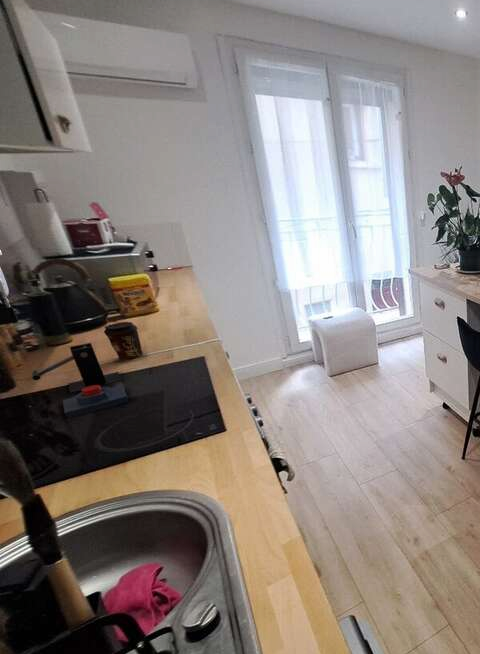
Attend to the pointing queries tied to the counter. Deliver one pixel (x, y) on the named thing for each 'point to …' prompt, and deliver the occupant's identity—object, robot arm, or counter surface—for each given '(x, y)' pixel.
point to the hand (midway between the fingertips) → (9, 322)
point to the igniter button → (91, 390)
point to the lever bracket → (89, 369)
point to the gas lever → (51, 367)
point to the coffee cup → (124, 340)
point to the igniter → (94, 401)
